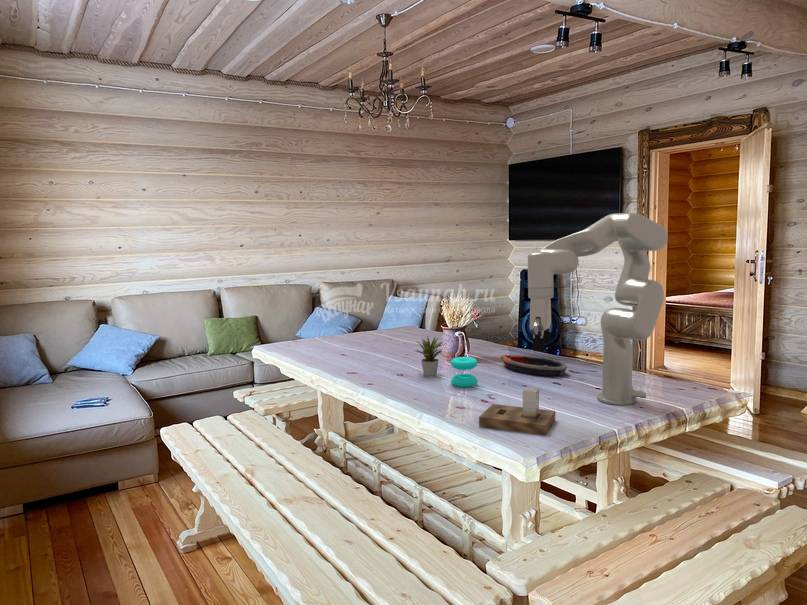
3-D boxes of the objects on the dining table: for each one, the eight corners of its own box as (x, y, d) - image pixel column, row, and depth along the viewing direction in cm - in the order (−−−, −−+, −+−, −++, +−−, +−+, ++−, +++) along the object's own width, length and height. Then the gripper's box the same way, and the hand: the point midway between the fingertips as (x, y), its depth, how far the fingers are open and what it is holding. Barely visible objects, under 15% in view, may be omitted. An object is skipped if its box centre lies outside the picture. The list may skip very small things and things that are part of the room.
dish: (553, 381, 232) (553, 368, 231) (491, 367, 255) (492, 356, 254) (575, 374, 242) (576, 361, 241) (515, 361, 265) (515, 350, 264)
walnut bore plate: (555, 420, 185) (555, 410, 185) (545, 435, 173) (545, 425, 172) (492, 412, 194) (492, 403, 194) (479, 426, 181) (478, 416, 181)
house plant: (445, 380, 235) (445, 339, 232) (411, 379, 237) (410, 339, 235) (450, 371, 248) (449, 333, 246) (417, 370, 251) (416, 332, 249)
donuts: (481, 360, 223) (455, 362, 221) (481, 387, 225) (456, 389, 222) (471, 355, 233) (447, 357, 231) (472, 380, 234) (447, 382, 232)
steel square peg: (538, 423, 183) (539, 388, 181) (535, 427, 179) (536, 392, 178) (525, 422, 184) (526, 387, 183) (522, 426, 181) (522, 390, 179)
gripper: (534, 288, 192) (535, 340, 195) (522, 296, 177) (523, 353, 179) (558, 288, 189) (559, 341, 192) (547, 296, 174) (549, 354, 176)
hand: (542, 347), depth 185 cm, fingers open, 9 cm apart
